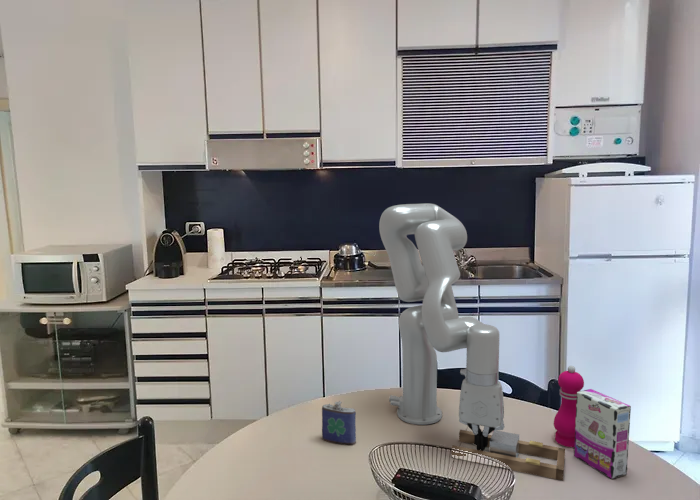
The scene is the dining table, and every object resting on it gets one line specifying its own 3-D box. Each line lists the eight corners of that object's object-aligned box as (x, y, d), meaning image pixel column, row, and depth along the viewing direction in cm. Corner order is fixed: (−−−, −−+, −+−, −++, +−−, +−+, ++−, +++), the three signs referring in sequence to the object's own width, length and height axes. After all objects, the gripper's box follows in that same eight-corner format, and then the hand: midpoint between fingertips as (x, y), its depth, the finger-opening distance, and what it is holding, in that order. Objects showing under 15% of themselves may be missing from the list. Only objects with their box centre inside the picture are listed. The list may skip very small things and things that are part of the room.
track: (451, 457, 126) (451, 446, 126) (460, 438, 135) (460, 427, 135) (563, 480, 116) (563, 468, 116) (564, 458, 125) (565, 446, 125)
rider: (489, 460, 124) (489, 441, 124) (493, 449, 130) (493, 429, 129) (515, 466, 122) (516, 446, 121) (518, 453, 127) (519, 434, 127)
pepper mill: (586, 449, 129) (590, 372, 126) (555, 447, 130) (558, 370, 127) (580, 435, 136) (583, 361, 133) (550, 433, 137) (553, 360, 134)
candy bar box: (628, 474, 118) (632, 405, 116) (612, 480, 116) (616, 410, 114) (588, 451, 128) (591, 387, 126) (572, 456, 126) (575, 391, 124)
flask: (357, 441, 134) (356, 401, 133) (353, 447, 132) (352, 406, 130) (324, 435, 138) (323, 396, 136) (319, 440, 135) (318, 401, 134)
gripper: (447, 377, 125) (446, 449, 128) (512, 387, 119) (510, 462, 121) (454, 367, 132) (454, 436, 134) (516, 375, 126) (514, 447, 128)
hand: (481, 448), depth 128 cm, fingers closed
